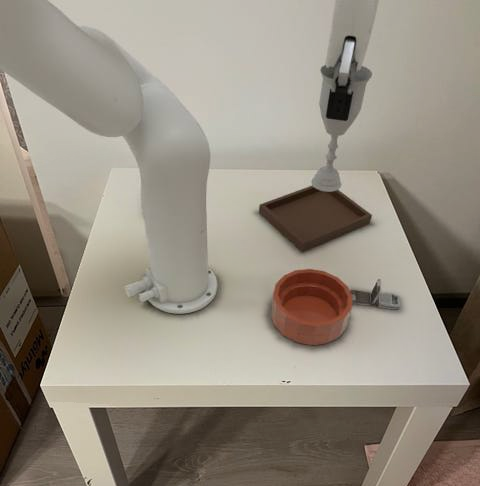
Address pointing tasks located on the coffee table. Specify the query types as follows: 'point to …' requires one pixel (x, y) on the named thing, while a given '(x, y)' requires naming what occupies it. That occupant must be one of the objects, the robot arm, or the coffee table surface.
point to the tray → (314, 216)
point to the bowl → (311, 306)
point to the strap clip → (376, 297)
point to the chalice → (337, 123)
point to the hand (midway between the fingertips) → (339, 106)
